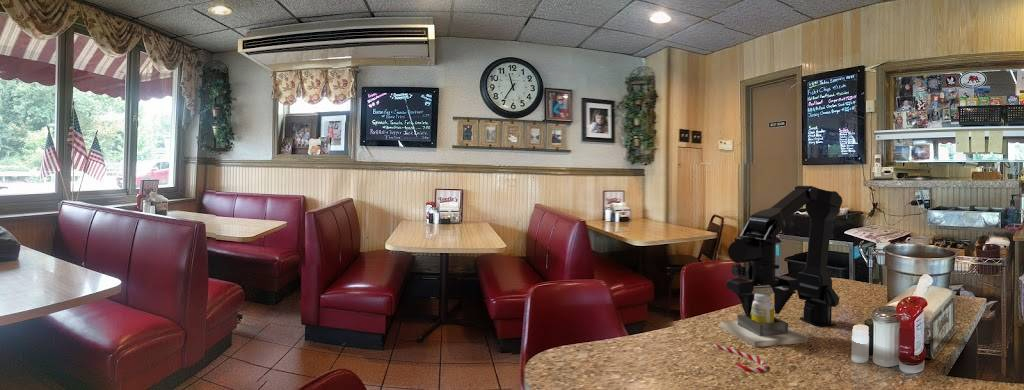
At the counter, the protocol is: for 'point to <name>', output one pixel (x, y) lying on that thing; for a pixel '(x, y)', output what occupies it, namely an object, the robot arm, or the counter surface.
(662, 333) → the counter surface
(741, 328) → the holder board
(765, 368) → the candy cane
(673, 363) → the counter surface
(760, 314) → the supplement bottle
